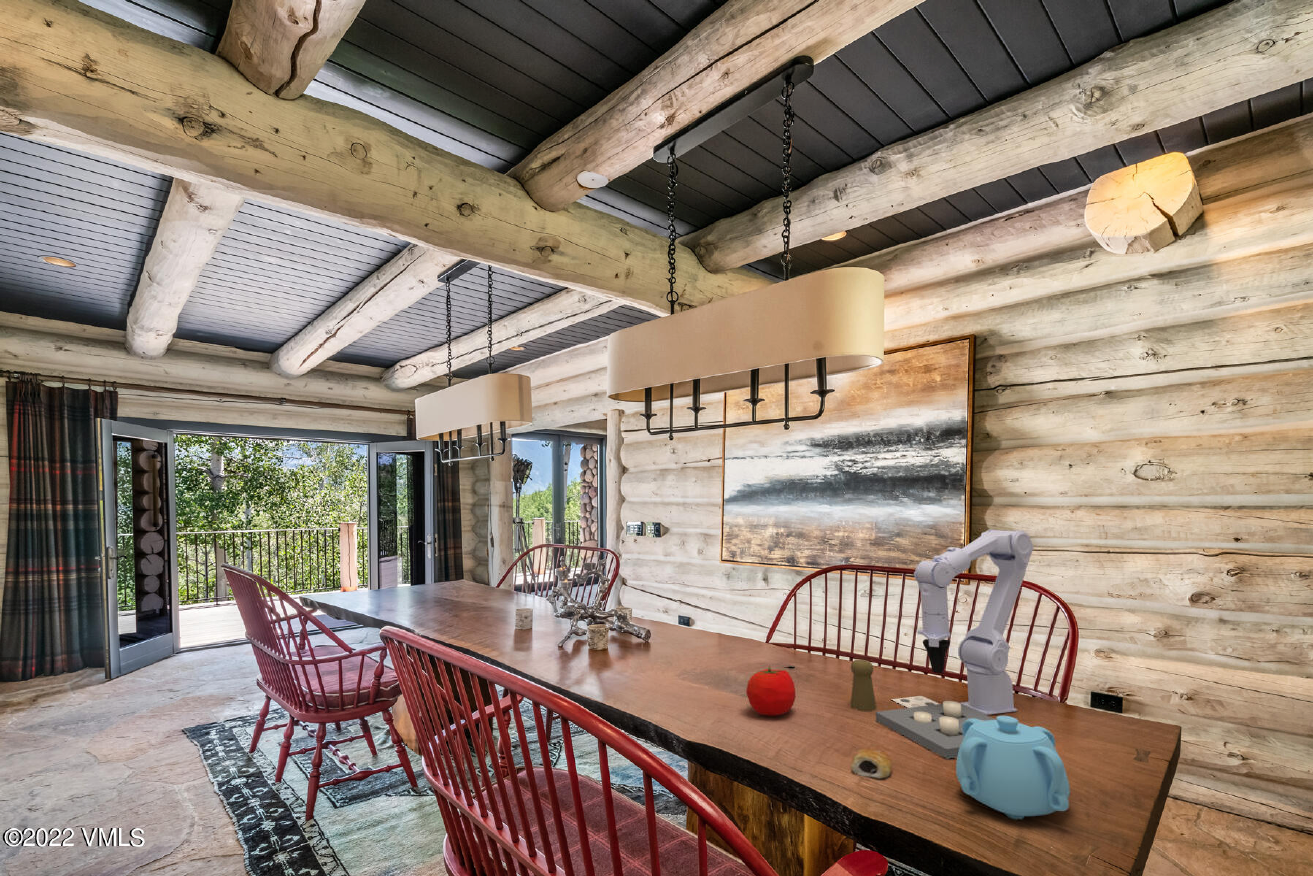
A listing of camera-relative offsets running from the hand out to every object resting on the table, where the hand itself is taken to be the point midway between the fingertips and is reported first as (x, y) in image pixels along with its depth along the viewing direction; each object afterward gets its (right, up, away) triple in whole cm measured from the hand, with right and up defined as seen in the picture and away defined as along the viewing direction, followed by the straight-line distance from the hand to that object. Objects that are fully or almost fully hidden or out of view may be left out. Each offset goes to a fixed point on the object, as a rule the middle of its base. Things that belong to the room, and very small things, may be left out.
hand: (938, 672), depth 143 cm
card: (-1, -11, +8) cm, 13 cm away
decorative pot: (-7, -6, -41) cm, 42 cm away
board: (-2, -9, -11) cm, 14 cm away
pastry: (-25, -8, -28) cm, 39 cm away
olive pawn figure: (-15, -11, +6) cm, 20 cm away
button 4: (-5, -7, -16) cm, 18 cm away
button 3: (-7, -9, -8) cm, 14 cm away
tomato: (-38, -11, +2) cm, 40 cm away
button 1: (+1, -8, -6) cm, 10 cm away
